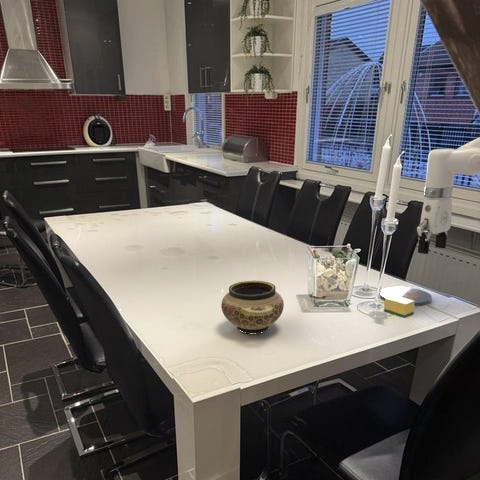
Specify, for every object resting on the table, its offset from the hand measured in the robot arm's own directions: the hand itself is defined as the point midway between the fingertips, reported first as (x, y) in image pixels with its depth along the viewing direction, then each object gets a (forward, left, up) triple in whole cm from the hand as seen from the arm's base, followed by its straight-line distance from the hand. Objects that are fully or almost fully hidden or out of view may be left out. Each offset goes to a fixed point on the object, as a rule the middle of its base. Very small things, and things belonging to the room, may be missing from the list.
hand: (431, 250), depth 144 cm
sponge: (+3, +9, -19) cm, 21 cm away
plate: (+10, -5, -19) cm, 23 cm away
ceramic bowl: (+23, +53, -20) cm, 61 cm away
